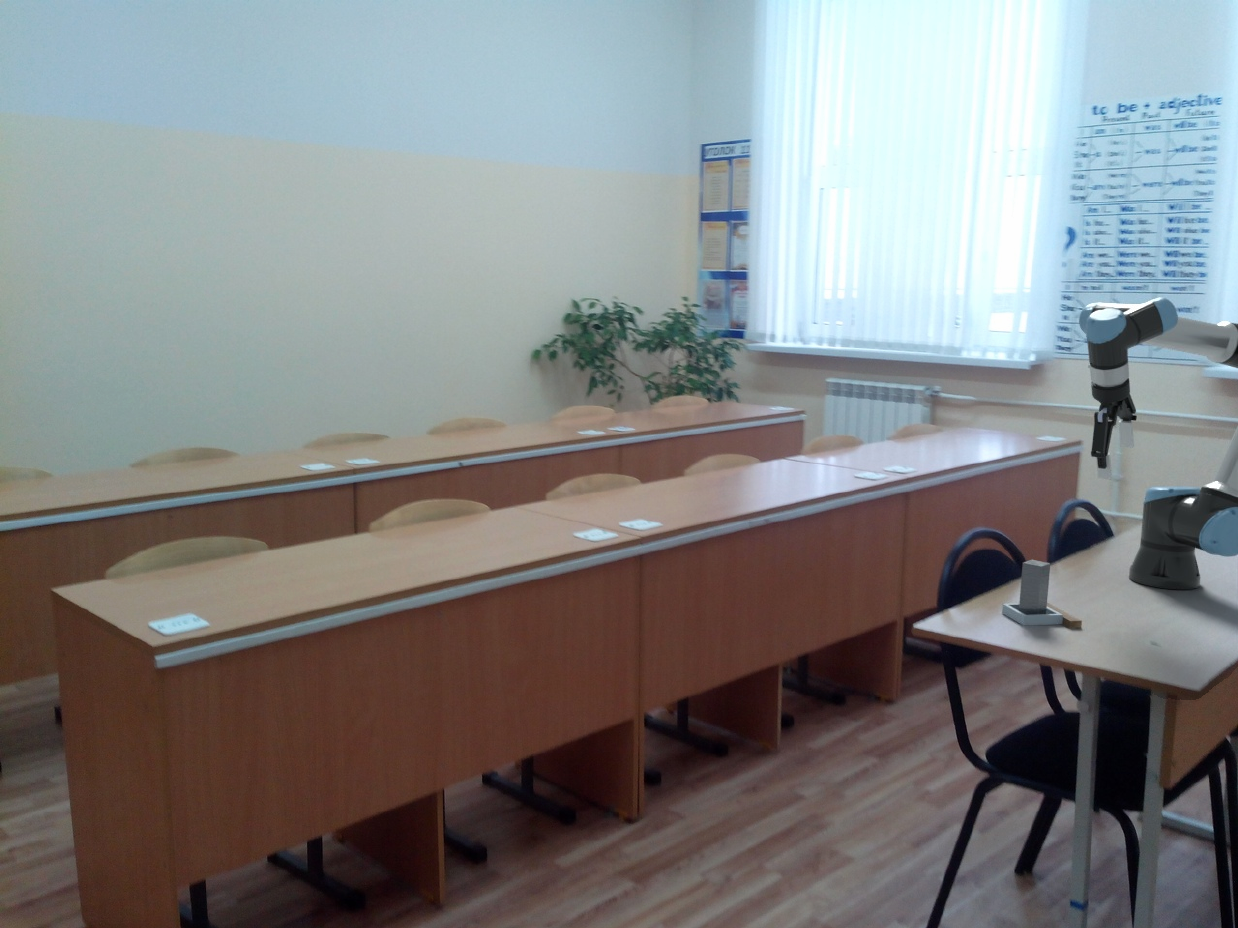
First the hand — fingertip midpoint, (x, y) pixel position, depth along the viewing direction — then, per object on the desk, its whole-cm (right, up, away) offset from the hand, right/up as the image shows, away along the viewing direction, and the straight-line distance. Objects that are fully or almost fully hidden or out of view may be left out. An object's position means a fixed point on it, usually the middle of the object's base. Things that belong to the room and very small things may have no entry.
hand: (1116, 461), depth 236 cm
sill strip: (-20, -33, -15) cm, 41 cm away
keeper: (-25, -33, -16) cm, 45 cm away
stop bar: (-25, -33, -16) cm, 45 cm away
